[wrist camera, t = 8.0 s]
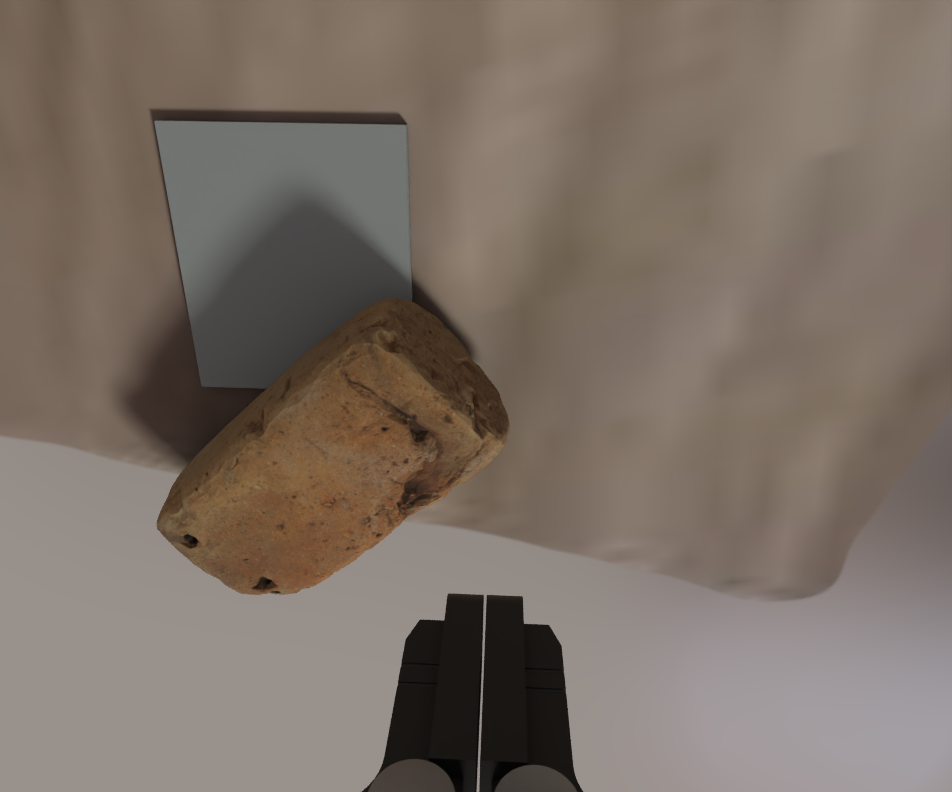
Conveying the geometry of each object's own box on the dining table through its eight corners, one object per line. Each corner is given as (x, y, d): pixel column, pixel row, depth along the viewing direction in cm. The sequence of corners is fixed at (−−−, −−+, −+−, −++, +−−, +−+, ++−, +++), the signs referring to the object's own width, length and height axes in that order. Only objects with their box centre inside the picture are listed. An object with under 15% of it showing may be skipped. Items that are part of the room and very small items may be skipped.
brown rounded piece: (391, 264, 36) (179, 457, 43) (367, 324, 29) (123, 538, 37) (520, 394, 40) (305, 550, 47) (523, 471, 33) (275, 637, 41)
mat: (159, 120, 35) (154, 120, 34) (407, 124, 34) (405, 124, 34) (205, 382, 41) (201, 386, 40) (415, 388, 40) (413, 393, 40)
